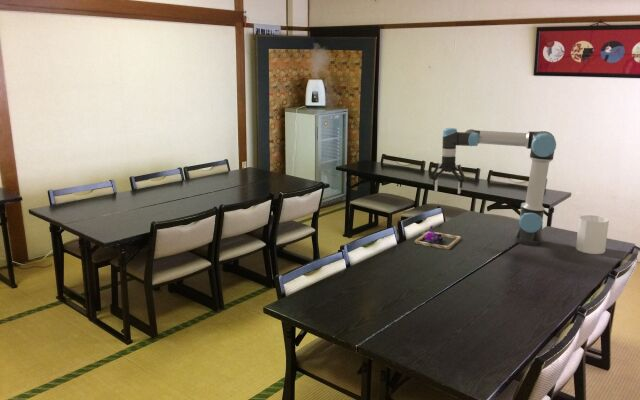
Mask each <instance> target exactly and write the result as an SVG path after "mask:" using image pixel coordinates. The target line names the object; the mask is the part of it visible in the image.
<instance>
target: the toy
mask: <svg viewBox="0 0 640 400" xmlns="http://www.w3.org/2000/svg"><path fill="white" fill-rule="evenodd" d="M433 226H434V225H430V226H429V229H430V230H429V231H430V232H429V233H427V232H426V233H427V234H426V236H425V238H424V239H425V242H426V241H427V243H431V242H433V244H438V245H441V244H440V243H438V242H441V241H444V240H443V237H442V236H441V234H436V233H437V232H436V233H435V231H434V230H433ZM440 237H441V238H440Z"/></svg>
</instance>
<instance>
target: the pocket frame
mask: <svg viewBox="0 0 640 400" xmlns="http://www.w3.org/2000/svg"><path fill="white" fill-rule="evenodd" d="M429 232H430V230H428V231H427V232H426V231H421V232H419V234H418V236H419V235H421V236H419V237H417V238H416V239H415V240H414V241H413V243H416V244H417V245H420V244H421V246H425V247H426V246H428V247H431V246H432V248H438V249H444V250H450V249H452V248H453V246H455V245H456V244H457V243H458V242H460V241H461V240H462V235H461V236H460V235H454V234H448V233H443V232H435V231H434V232H435V233H436V234H441V236H440V237H441V238H443V237H444V238H448V239H449V238H450V239H454V240H453V241H451V243H449V244H447V245H444V244H440V245H438V244H439V243H438V244H435V243H434V242H432V243H431V242H426V241H422V240H424V239H425V236H426V234H427V233H429ZM423 238H424V239H423ZM420 240H421V241H420ZM416 244H415V245H416Z"/></svg>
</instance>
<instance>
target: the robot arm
mask: <svg viewBox="0 0 640 400" xmlns="http://www.w3.org/2000/svg"><path fill="white" fill-rule="evenodd" d="M479 144H482V145H496V146H497V145H498V146H510V147H524V148H526V149H528V150H529V149H530V152H529V158H530V159H531V166H530V171H529V176H528V177H529V179H528V185H527V190H526V197H525V202H522V203H520V213H519V220H518V223H519V224H518V229H517V231H516V234H515V236H514V241H515V242H516V243H518V244H521V245H526V246H540V245H542V244H543V239H544V238H543V236H542V227H543V223H544V222H543V220H544V215H545V214H544V212H545V207H544V206H543V201H544V195H545V191H546V184H547V177H548V171H549V166H550V163H551V161H552V162H553V160H554V155H555V150H556V149H557V141H556V137H555V136H554V135H553V134H552V133H551V132H549V131H542V130H541V131H532V130H531V131H530V130H529V131H528V132H515V131H513V132H510V131H495V130H480V129H478V130H475V129H474V128H473V129H471V128H470V129H467V130H466V131H463V132H462V131H461V132H460V131H458V129H457V128H454V127H447V128H444V129H443V132H442V149H441V150H442V151H441V155H442V156H441V163H439V162H437V163H436V164H435V168H434V170H433V172H432V173H431V175H430V177H429V178H430V179H431V180H433V182H432V183H433V184H432V186H434V193H435V192H438V183H439V181H438V178H439V177H440V176H441V175H442V174H443V173H452V174H453V175H454V176H455V178H456V179H457V181H458V182H457V194H458V195H459V194H461V191H462V190H461V188H463V185H464V184H463V183H464V182H466V181H467V178H466V176H465V174H464V171H463V170H462V165H461V164H456V160H457V159H456V157H457V156H456V155H457V146H461V147H463V146H465V147H466V146H467V147H468V146H469V147H477V146H478V145H479ZM439 168H441V170H440V171H439V172H438V173H437V171H438V170H439ZM456 169H457V170H456ZM457 171H458V172H457Z"/></svg>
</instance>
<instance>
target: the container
mask: <svg viewBox="0 0 640 400" xmlns="http://www.w3.org/2000/svg"><path fill="white" fill-rule="evenodd" d="M578 219H579V220H578V227H577V234H576V242H575V243H576V244H575V249H576V250H577V251H578V252H581V253H584V254H590V255H591V254H592V255H599V254H604V253H605V252H606V246H607V240H608V239H607V238H608V231H609V225H610V224H609V222H610V219H608V218H607V217H603V216H598V215H591V214H590V215H579V217H578Z"/></svg>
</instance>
